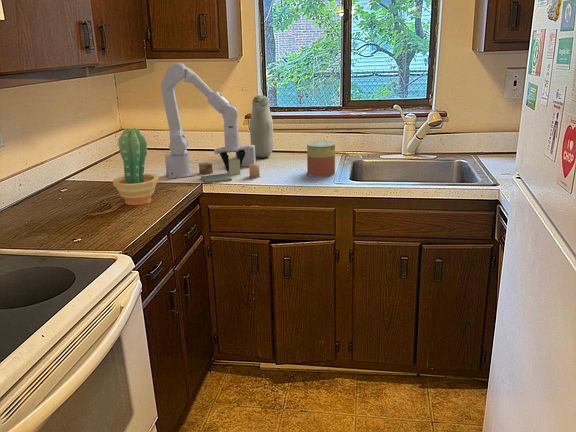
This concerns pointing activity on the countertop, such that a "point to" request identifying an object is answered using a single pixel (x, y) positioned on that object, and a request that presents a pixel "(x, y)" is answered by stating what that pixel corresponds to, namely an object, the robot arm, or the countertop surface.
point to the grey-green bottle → (261, 127)
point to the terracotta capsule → (254, 170)
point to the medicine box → (248, 156)
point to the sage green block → (234, 166)
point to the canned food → (321, 158)
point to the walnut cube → (205, 168)
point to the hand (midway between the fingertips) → (233, 169)
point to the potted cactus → (134, 169)
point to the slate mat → (215, 178)
